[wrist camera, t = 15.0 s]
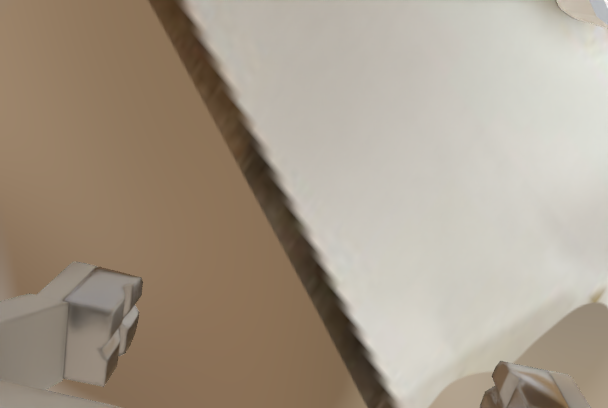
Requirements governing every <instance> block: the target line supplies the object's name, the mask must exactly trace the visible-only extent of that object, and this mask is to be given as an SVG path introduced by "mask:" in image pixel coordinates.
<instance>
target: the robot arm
mask: <svg viewBox="0 0 608 408" xmlns="http://www.w3.org/2000/svg"><path fill="white" fill-rule="evenodd" d="M142 284H143V281H142V278H141V277H138V276H134V275H130V274H126V273H122V272H118V271H114V270H110V269H106V268H102V267H97V266H95V265H90V264H86V263H80V262H72V263H71V264H70V265H69V266H68V267H66V268H65V269H64V270H63V271H62V272H61V273H60V274H59V275H58V276H57V277H56V278H54V279H53V280H52V281H51V282H50V283H49V284H48V285H47V286H46V287H45V288H43V289H42V290H41V291H40V292H39V293H38V294H37V295H34V294H26V295H22V296H18V297H15V298H11V299H7V300H3V301H0V408H122V407H117V406H113V405H109V404H104V403H100V402H96V401H91V400H87V399H82V398H78V397H74V396H69V395H65V394H61V393H56V392H52V391H47V390H46V389H48V388H50V387H52V386H54V385H55V384H57V383H59V382H61V381H63V379H68V380H73V381H78V382H84V383H88V384H93V385H99V386H103V387H104V386H105V384H106V383H107V381H108V379H109V378H110V376H111V375H112V373H113V372H114V370H115V369H116V367H117V361H118V356H120V355H123V354H125V353H126V351H127V350H128V348H129V346H130V344H131V342H132V340H133V337H134V334H135V331H136V327H137V323H138V317H139V311H138V310H137V308H136V306H135V304H136V302H137V301H138V299H139V298H140V297H141V295H142ZM492 378H493V381H494V383H495V386H494V387H492V388H491V389H489V390H487V391H486V392H485V394H484V396H483V399H482V402H481V404H480V408H591V407H590V405H589V404H588V402H587V400H586V399H585V397H584V396H583V394H582V392H581V391H580V389H579V388H578V387H577V384H576V383H575V381H574V380H573V378H572V377H571V376H569V375H568V374H564V373H558V372H553V371H548V370H542V369H538V368H533V367H528V366H523V365H518V364H513V363H508V362H503V361H500V362H499V363H498V365H497V366H496V367H495V370H494V372H493V374H492Z"/></svg>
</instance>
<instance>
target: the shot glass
mask: <svg viewBox="0 0 608 408" xmlns="http://www.w3.org/2000/svg"><path fill="white" fill-rule="evenodd" d="M556 2H557V4H558V6H559V8H560V9H562V10H563V11H564V12H565V13H567V14H568V15H569V16H571V17H572V18H575V19H578V20H581V21H584V22H588V23H591V24H594V25H598V26H601V27H604V28H607V29H608V0H556Z"/></svg>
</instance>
